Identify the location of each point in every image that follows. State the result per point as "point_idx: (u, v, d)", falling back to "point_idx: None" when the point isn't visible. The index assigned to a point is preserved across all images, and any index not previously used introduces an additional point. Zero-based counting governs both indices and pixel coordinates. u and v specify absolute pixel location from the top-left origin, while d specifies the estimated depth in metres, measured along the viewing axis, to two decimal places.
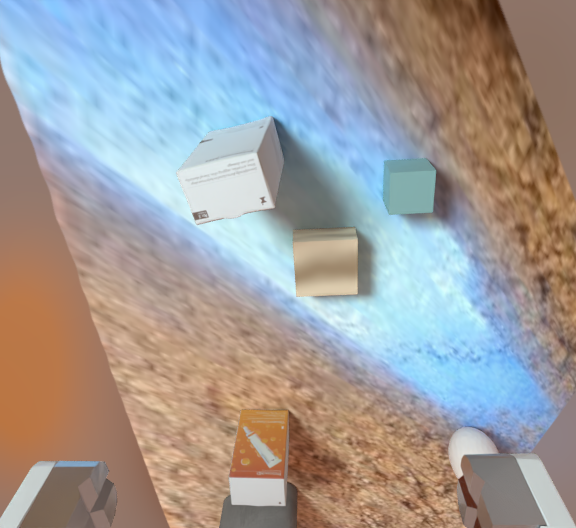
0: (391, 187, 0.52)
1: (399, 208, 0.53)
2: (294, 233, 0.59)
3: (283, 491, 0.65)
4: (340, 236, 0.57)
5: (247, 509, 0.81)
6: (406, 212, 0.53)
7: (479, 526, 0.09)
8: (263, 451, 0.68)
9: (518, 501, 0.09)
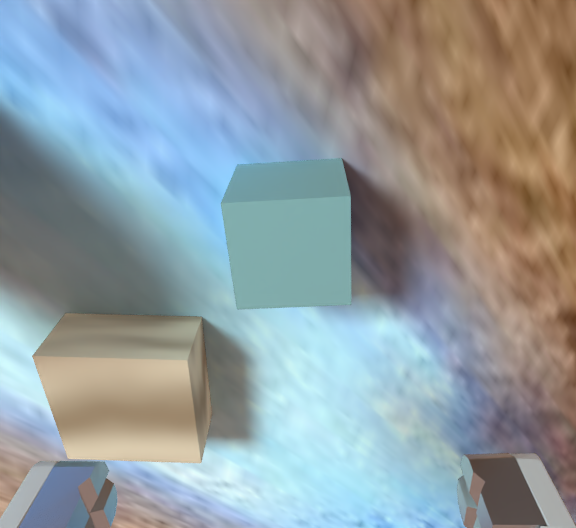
0: (231, 242, 0.19)
1: (261, 294, 0.20)
2: (57, 325, 0.26)
3: None
4: (154, 345, 0.24)
5: None
6: (281, 304, 0.20)
7: (479, 526, 0.09)
8: None
9: (518, 501, 0.09)
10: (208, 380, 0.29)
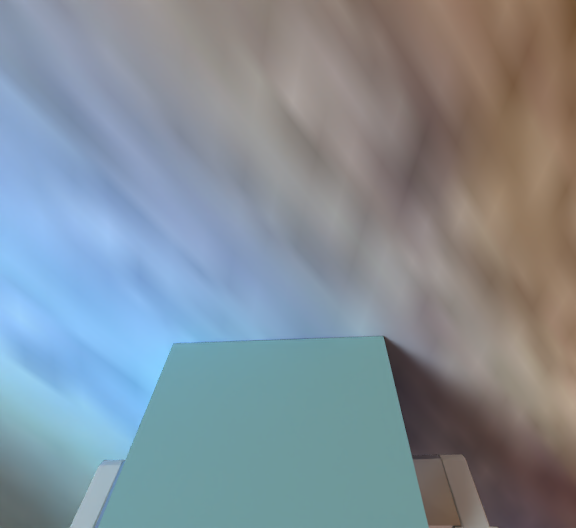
0: None
1: None
2: None
3: None
4: None
5: None
6: None
7: None
8: None
9: (437, 502, 0.09)
10: None
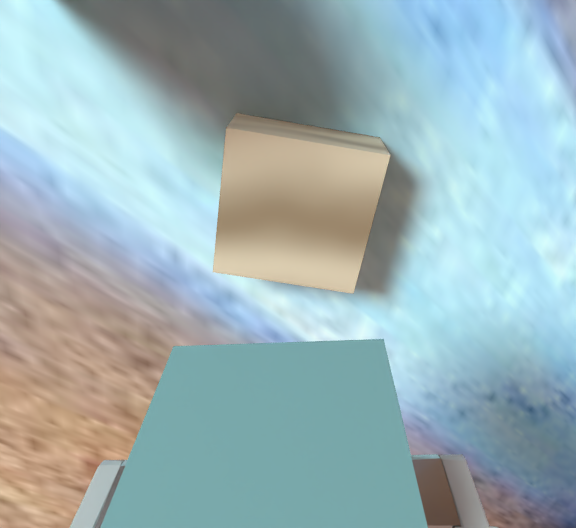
0: None
1: None
2: (235, 117, 0.24)
3: None
4: (347, 142, 0.23)
5: None
6: None
7: None
8: None
9: (437, 502, 0.09)
10: None
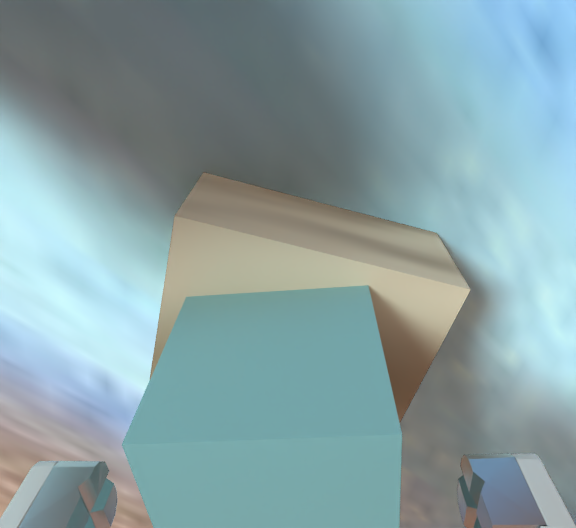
0: (153, 504, 0.09)
1: None
2: (199, 183, 0.14)
3: None
4: (392, 252, 0.13)
5: None
6: None
7: (479, 526, 0.09)
8: None
9: (518, 501, 0.09)
10: None
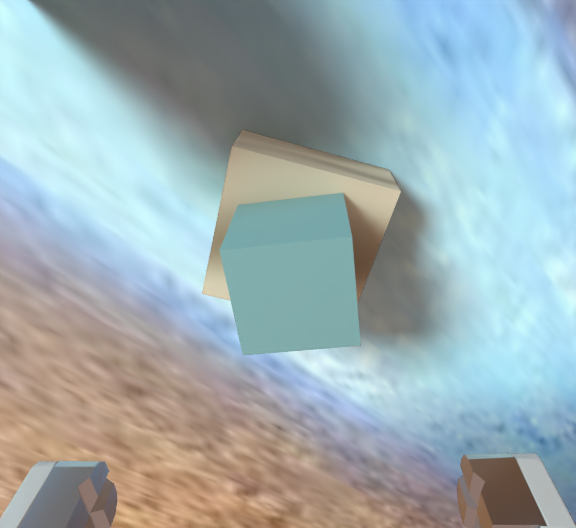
0: (232, 288, 0.18)
1: (267, 339, 0.19)
2: (241, 134, 0.23)
3: None
4: (356, 173, 0.22)
5: None
6: (288, 348, 0.19)
7: (479, 526, 0.09)
8: None
9: (518, 501, 0.09)
10: None
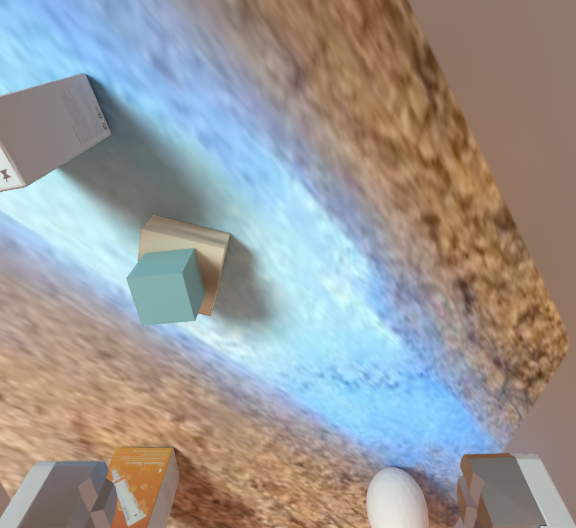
0: (133, 294, 0.41)
1: (152, 317, 0.42)
2: (150, 218, 0.46)
3: None
4: (206, 239, 0.45)
5: None
6: (162, 322, 0.42)
7: (479, 526, 0.09)
8: (127, 502, 0.55)
9: (518, 501, 0.09)
10: (221, 274, 0.49)
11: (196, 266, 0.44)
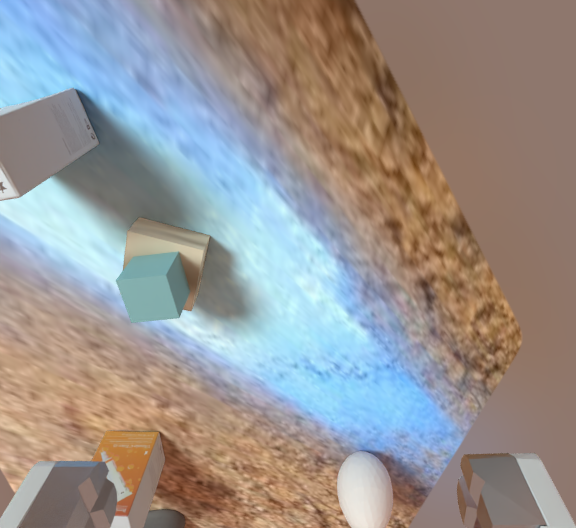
0: (123, 295, 0.45)
1: (140, 315, 0.46)
2: (136, 221, 0.49)
3: None
4: (187, 240, 0.49)
5: None
6: (150, 319, 0.46)
7: (479, 526, 0.09)
8: (114, 481, 0.59)
9: (518, 501, 0.09)
10: (202, 272, 0.53)
11: (180, 268, 0.48)
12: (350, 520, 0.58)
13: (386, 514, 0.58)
